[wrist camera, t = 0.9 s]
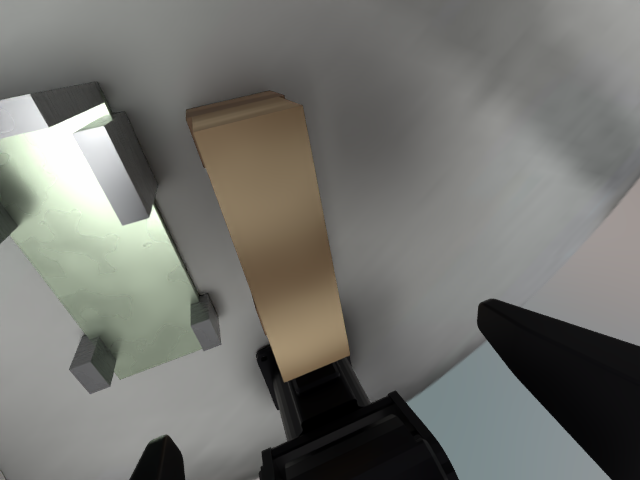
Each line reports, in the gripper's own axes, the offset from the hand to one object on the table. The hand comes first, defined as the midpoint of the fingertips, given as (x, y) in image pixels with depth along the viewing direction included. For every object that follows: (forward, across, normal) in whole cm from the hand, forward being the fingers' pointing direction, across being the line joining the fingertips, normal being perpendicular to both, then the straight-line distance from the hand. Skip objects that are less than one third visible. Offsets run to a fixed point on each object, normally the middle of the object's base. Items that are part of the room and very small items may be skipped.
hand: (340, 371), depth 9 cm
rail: (+9, 0, 0) cm, 9 cm away
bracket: (+12, +8, 0) cm, 14 cm away
